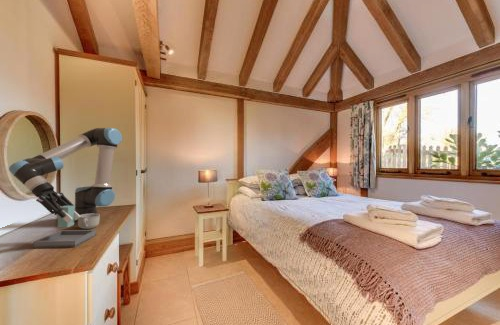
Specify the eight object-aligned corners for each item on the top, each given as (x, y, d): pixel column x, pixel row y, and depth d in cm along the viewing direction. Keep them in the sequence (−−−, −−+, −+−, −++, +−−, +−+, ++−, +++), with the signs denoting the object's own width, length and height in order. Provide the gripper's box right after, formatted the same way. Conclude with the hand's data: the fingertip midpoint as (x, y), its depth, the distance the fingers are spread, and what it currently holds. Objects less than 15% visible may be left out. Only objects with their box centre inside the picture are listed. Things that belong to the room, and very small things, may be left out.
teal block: (64, 224, 107) (65, 205, 107) (74, 224, 107) (74, 205, 107) (57, 227, 102) (58, 207, 102) (67, 227, 103) (68, 207, 103)
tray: (60, 235, 112) (61, 230, 112) (96, 235, 114) (96, 229, 114) (33, 247, 97) (33, 241, 97) (74, 247, 99) (75, 241, 98)
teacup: (84, 225, 131) (84, 212, 131) (103, 224, 133) (103, 212, 133) (69, 233, 117) (70, 219, 117) (91, 232, 119) (91, 218, 119)
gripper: (49, 189, 112) (80, 220, 114) (16, 194, 95) (54, 230, 96) (60, 180, 113) (91, 210, 114) (29, 183, 95) (66, 219, 97)
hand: (74, 219), depth 105 cm, fingers closed on teal block, 4 cm apart
